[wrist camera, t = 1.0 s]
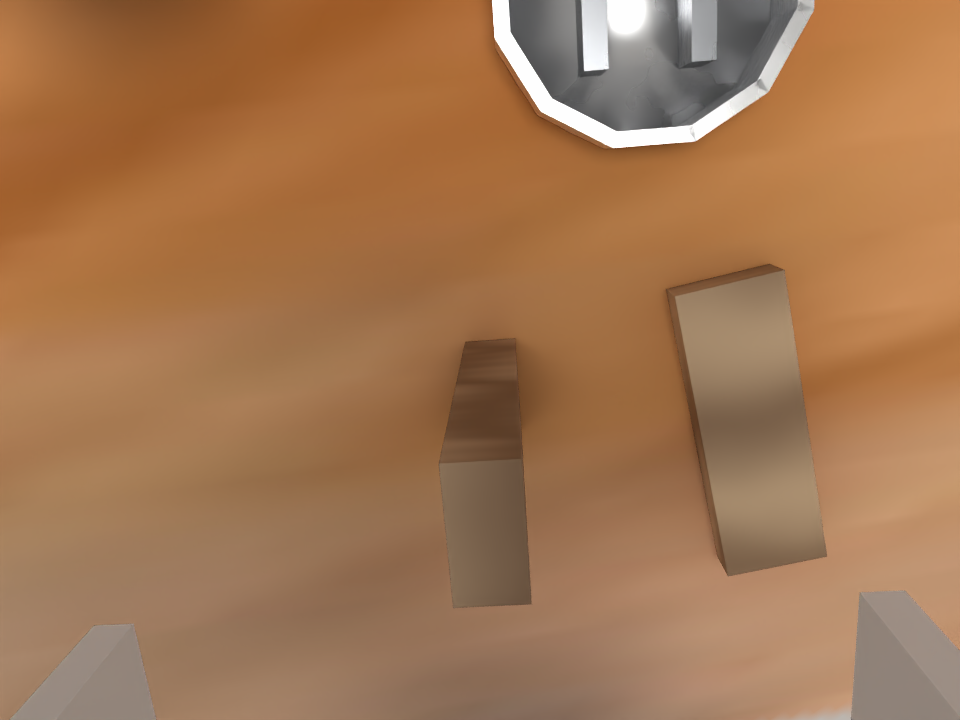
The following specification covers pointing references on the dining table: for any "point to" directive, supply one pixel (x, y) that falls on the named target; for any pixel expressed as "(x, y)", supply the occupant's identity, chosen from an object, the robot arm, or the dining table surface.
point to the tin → (645, 62)
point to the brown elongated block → (486, 481)
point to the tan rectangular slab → (749, 418)
